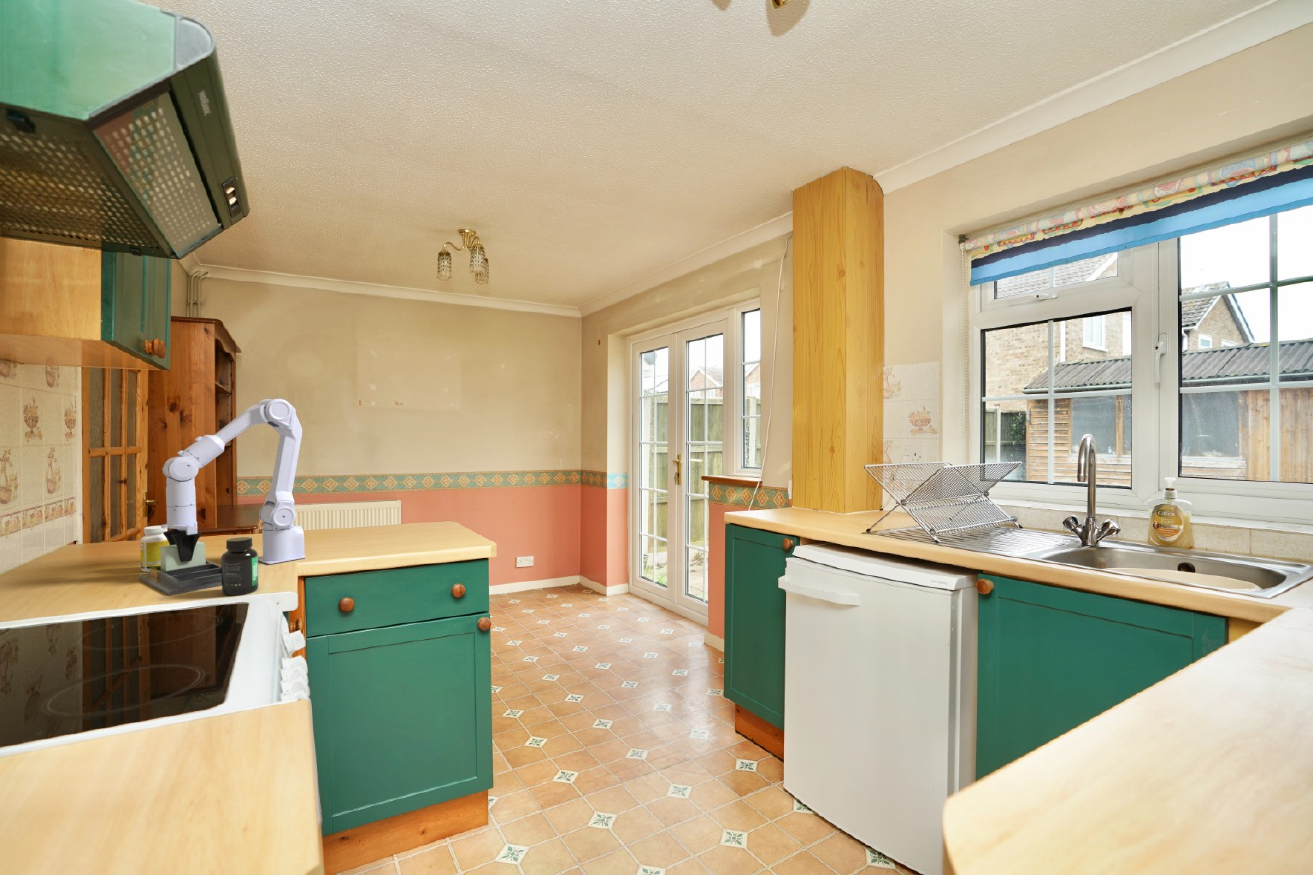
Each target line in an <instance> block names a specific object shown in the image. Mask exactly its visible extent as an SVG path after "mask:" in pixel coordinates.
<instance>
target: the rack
mask: <svg viewBox="0 0 1313 875" xmlns="http://www.w3.org/2000/svg"><path fill="white" fill-rule="evenodd" d="M138 579H139V580H140V581H142V582H144V583H146V584H148V585H149V586H151V587H153V588H155V589H157V590H159V591H161V592H162V593H163V594H166V595H167V596H174V595H179V594H181V595H182V594H185V592H186V593H190V591H191V592H196V591H200V590H199V589H201V590H206V589H211V588H212V589H213V588H215V587H222V573H221V564H217V563H216V562H213V561H211V560H208V559H206V564H204V565H198V566H192V567H186V568H181V569H175V570H169V571H163V572H162V571H161V566H158V567H152V568H150V572H148V573H143V574H138ZM195 590H196V591H195Z"/></svg>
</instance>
